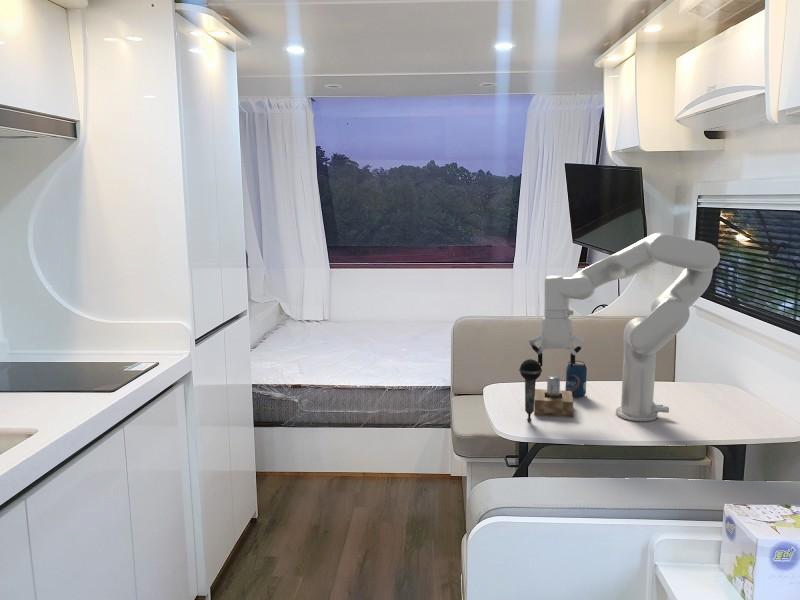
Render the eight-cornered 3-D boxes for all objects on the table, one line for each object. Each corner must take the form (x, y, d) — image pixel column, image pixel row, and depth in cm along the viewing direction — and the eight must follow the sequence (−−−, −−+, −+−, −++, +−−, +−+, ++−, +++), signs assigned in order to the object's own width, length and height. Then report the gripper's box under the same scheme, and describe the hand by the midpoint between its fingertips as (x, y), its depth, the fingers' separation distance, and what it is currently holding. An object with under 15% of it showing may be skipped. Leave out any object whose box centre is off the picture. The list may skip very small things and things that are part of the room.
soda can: (561, 396, 223) (562, 363, 221) (570, 391, 228) (571, 359, 227) (580, 400, 219) (581, 366, 217) (588, 395, 224) (590, 362, 222)
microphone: (540, 418, 201) (542, 357, 198) (540, 426, 194) (542, 363, 191) (518, 417, 202) (519, 356, 199) (517, 424, 196) (519, 361, 192)
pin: (558, 405, 210) (559, 376, 209) (559, 409, 206) (560, 379, 205) (546, 404, 211) (547, 375, 210) (546, 408, 207) (547, 379, 206)
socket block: (570, 405, 213) (571, 391, 213) (572, 417, 202) (573, 402, 201) (534, 403, 216) (534, 389, 215) (534, 414, 204) (534, 400, 204)
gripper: (583, 312, 206) (583, 363, 208) (529, 311, 209) (529, 362, 212) (585, 316, 198) (584, 369, 201) (528, 316, 202) (529, 368, 205)
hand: (556, 365), depth 206 cm, fingers open, 9 cm apart
